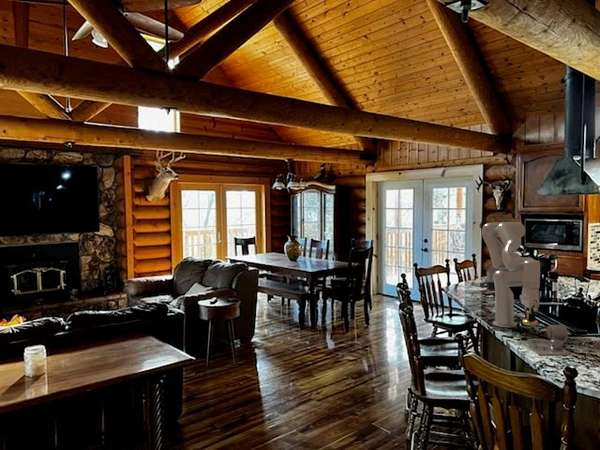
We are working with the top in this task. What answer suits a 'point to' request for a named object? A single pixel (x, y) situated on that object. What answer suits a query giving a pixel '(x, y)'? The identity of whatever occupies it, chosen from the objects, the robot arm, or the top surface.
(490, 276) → the milk frother
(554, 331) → the ceramic mug
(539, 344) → the carrier
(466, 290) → the top surface
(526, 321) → the brass door knob
